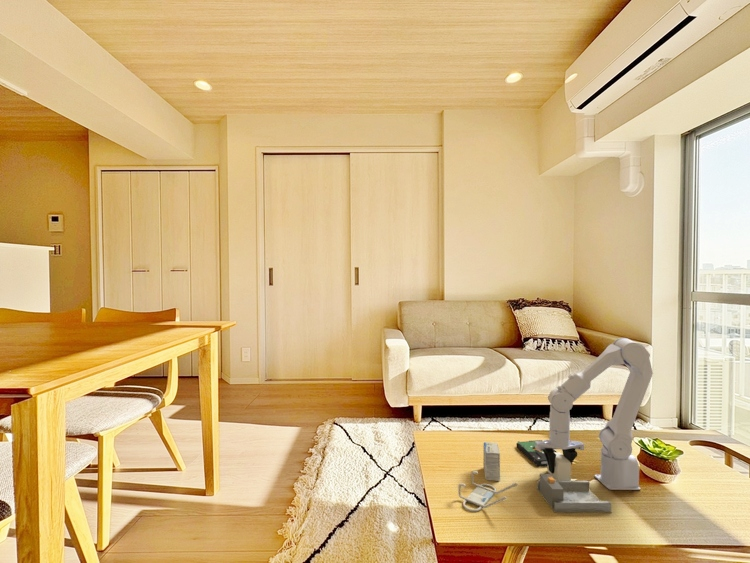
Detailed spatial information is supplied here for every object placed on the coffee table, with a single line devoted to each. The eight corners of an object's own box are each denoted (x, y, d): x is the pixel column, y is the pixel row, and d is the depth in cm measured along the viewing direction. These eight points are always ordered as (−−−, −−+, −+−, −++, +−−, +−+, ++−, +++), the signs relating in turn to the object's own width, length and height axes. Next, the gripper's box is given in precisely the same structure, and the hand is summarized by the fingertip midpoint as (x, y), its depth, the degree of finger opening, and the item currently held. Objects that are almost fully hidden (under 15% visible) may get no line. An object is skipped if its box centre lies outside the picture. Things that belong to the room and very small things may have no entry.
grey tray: (587, 489, 114) (587, 480, 114) (611, 512, 103) (611, 503, 103) (537, 489, 114) (537, 480, 114) (555, 512, 103) (555, 502, 103)
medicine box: (500, 481, 118) (500, 453, 118) (484, 480, 119) (485, 452, 119) (497, 469, 126) (497, 442, 126) (483, 467, 127) (483, 441, 127)
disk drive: (566, 467, 129) (541, 446, 144) (566, 458, 129) (542, 439, 144) (537, 468, 128) (515, 448, 142) (537, 460, 128) (515, 440, 142)
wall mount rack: (475, 481, 119) (476, 463, 118) (520, 497, 110) (521, 477, 110) (452, 505, 106) (453, 484, 106) (501, 525, 98) (502, 503, 98)
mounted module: (549, 490, 113) (550, 471, 112) (563, 507, 105) (563, 486, 104) (539, 490, 113) (539, 471, 112) (552, 507, 105) (552, 486, 104)
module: (559, 470, 125) (560, 452, 125) (571, 482, 118) (571, 462, 118) (547, 470, 125) (547, 452, 125) (557, 482, 118) (557, 462, 118)
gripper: (575, 424, 125) (575, 465, 126) (531, 423, 125) (530, 465, 126) (587, 432, 118) (587, 476, 119) (540, 432, 118) (540, 476, 119)
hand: (558, 471), depth 122 cm, fingers closed on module, 4 cm apart
